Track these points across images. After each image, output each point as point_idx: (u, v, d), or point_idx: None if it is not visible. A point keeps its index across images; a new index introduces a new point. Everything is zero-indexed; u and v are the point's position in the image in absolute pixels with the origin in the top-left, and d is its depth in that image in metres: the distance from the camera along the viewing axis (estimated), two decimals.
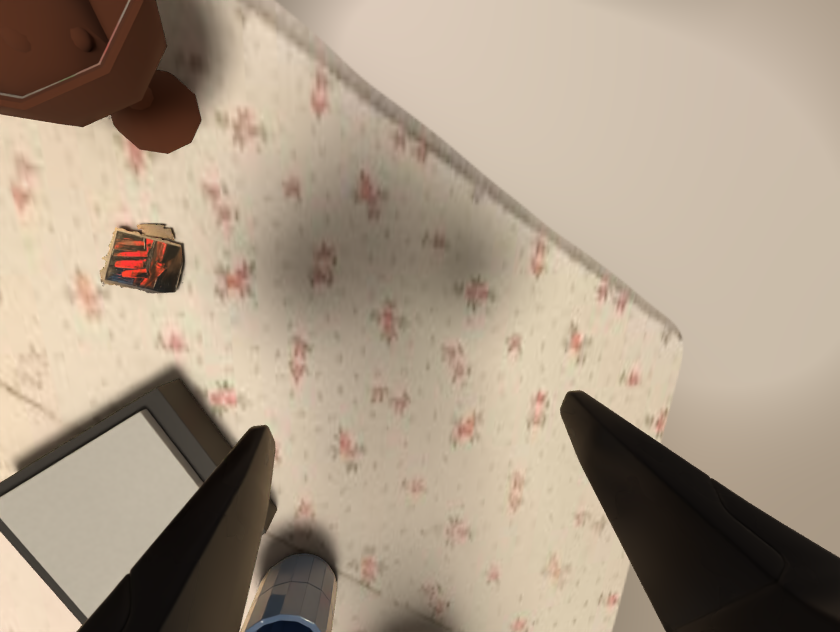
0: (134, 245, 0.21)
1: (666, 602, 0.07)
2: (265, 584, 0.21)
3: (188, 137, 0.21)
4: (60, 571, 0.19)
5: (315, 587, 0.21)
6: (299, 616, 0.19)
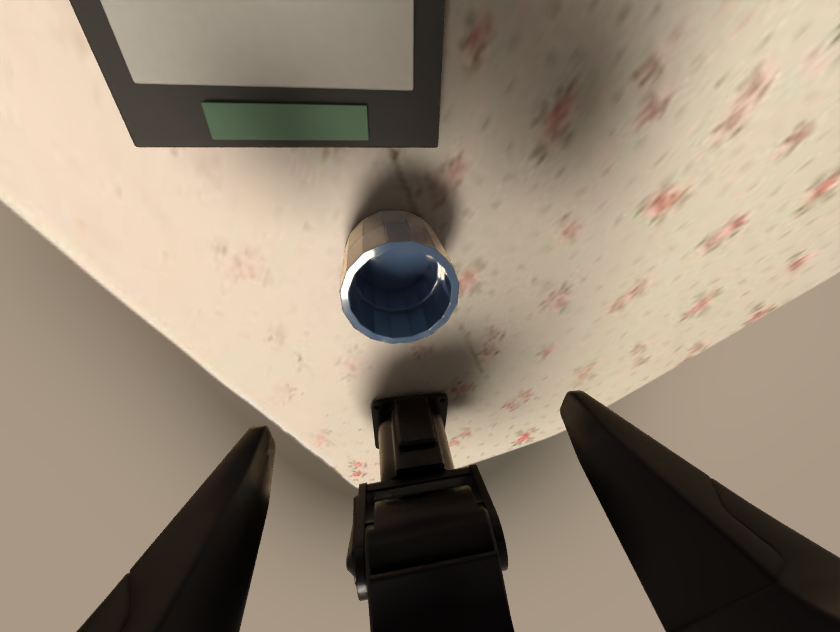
0: None
1: (666, 602, 0.07)
2: (387, 219, 0.15)
3: None
4: None
5: None
6: (452, 266, 0.14)
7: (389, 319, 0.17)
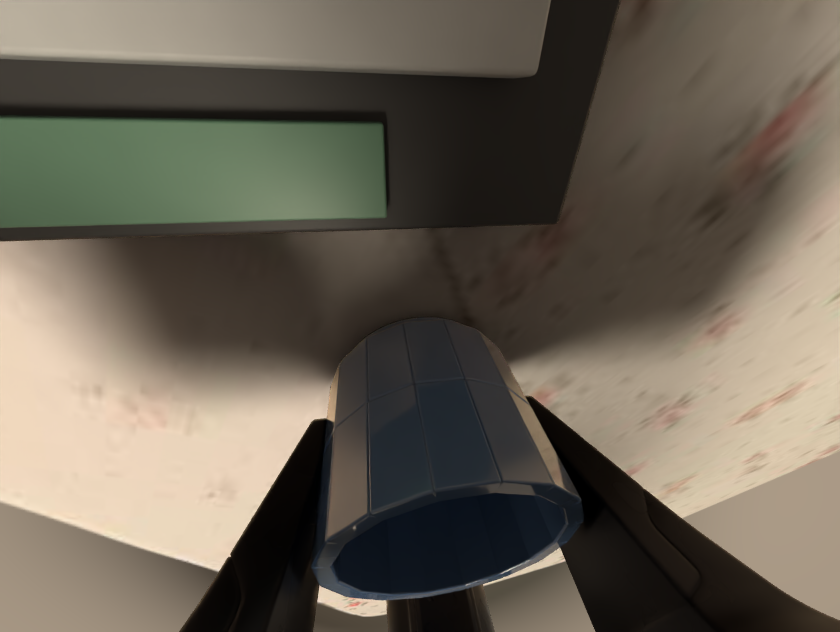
0: None
1: (601, 617, 0.07)
2: (418, 358, 0.07)
3: None
4: None
5: None
6: (581, 502, 0.06)
7: (416, 520, 0.09)
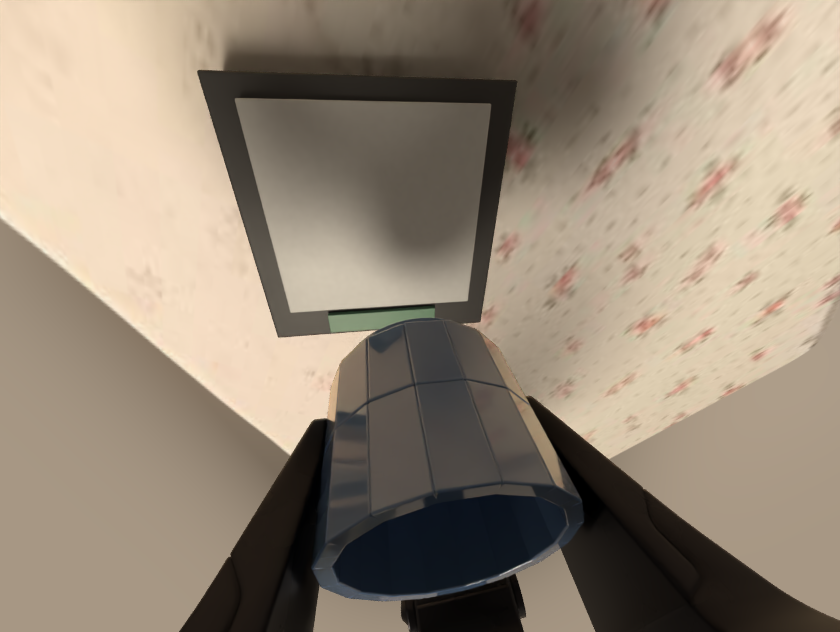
0: None
1: (601, 617, 0.07)
2: (418, 359, 0.07)
3: None
4: (286, 248, 0.14)
5: None
6: (581, 503, 0.06)
7: (416, 521, 0.09)
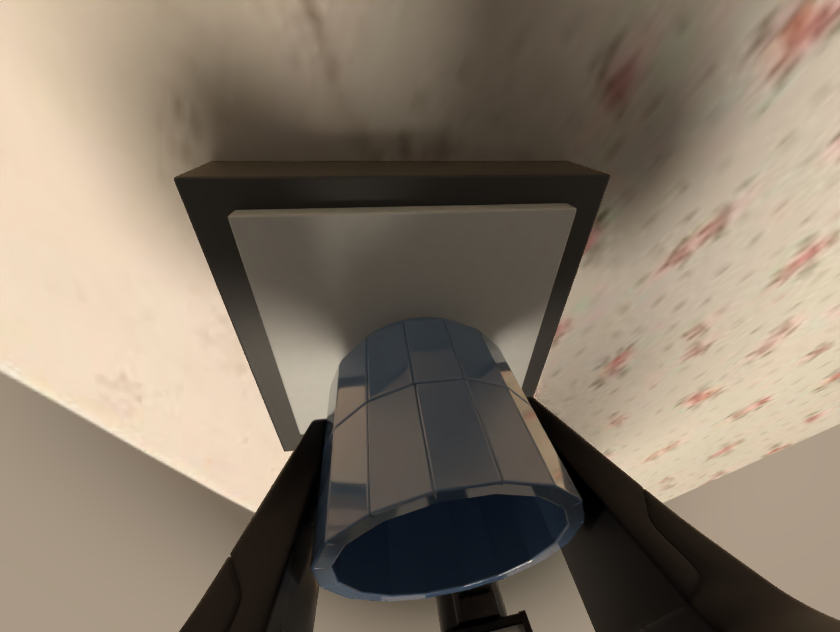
0: None
1: (601, 617, 0.07)
2: (418, 358, 0.07)
3: None
4: (297, 374, 0.11)
5: None
6: (582, 503, 0.06)
7: (416, 521, 0.09)
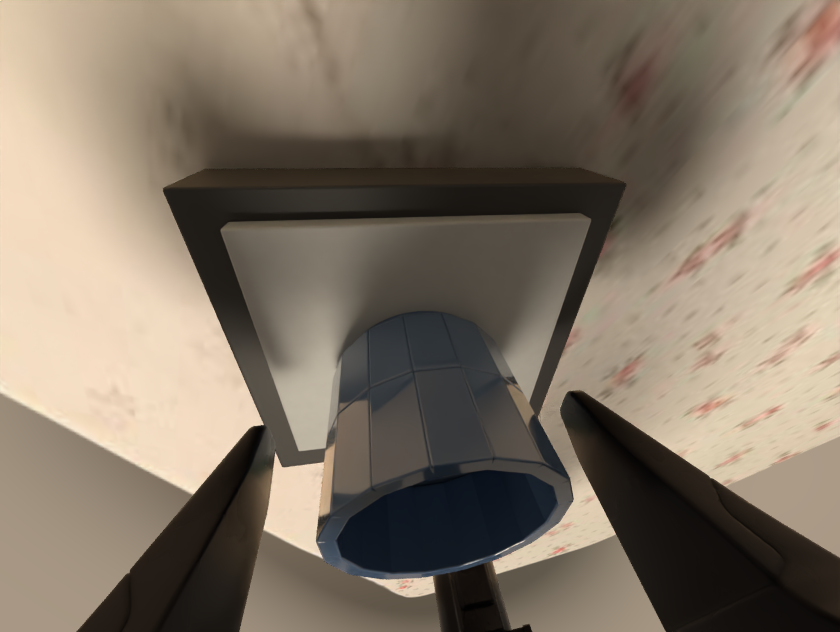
0: None
1: (666, 602, 0.07)
2: (417, 348, 0.08)
3: None
4: (295, 390, 0.11)
5: None
6: (570, 481, 0.06)
7: (415, 506, 0.09)
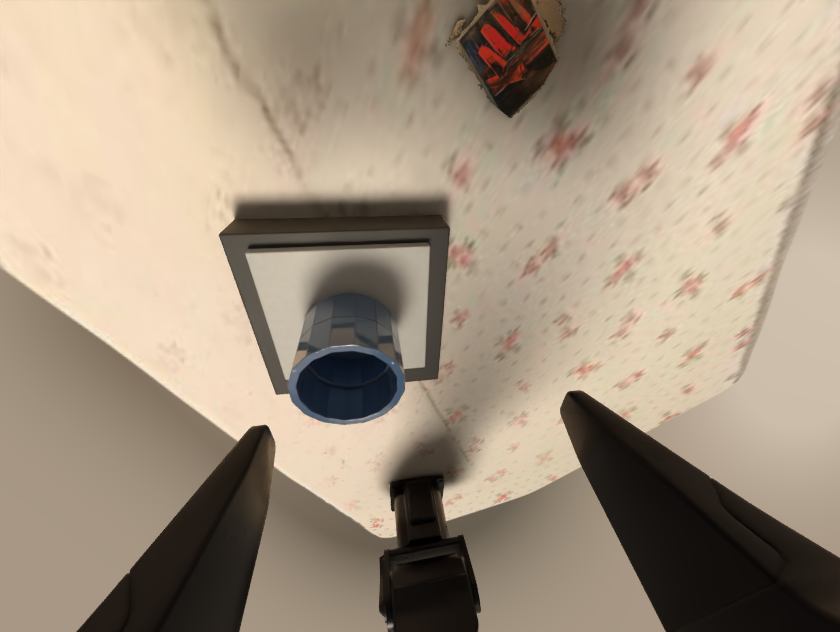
0: (519, 14, 0.14)
1: (666, 602, 0.07)
2: (337, 308, 0.16)
3: None
4: (282, 338, 0.19)
5: (396, 340, 0.17)
6: (395, 361, 0.15)
7: (344, 396, 0.18)
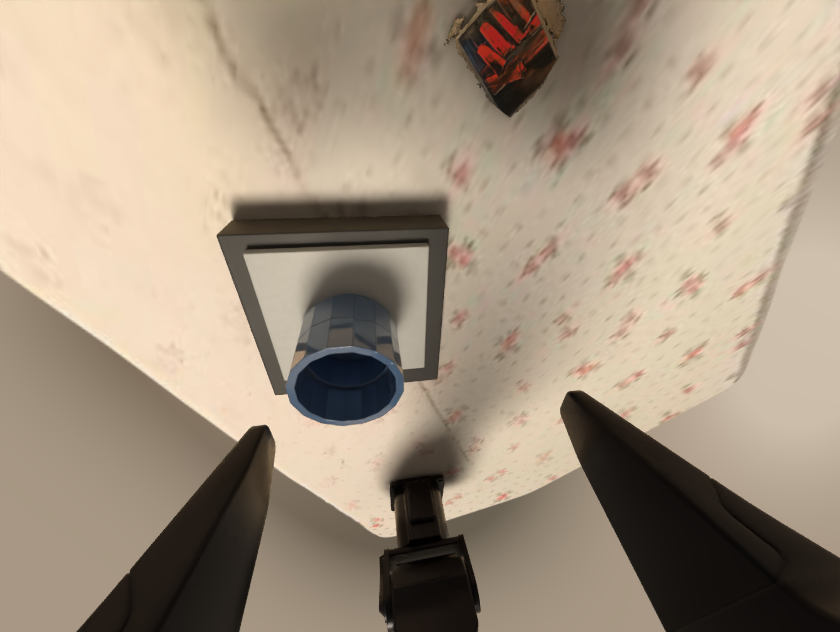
0: (518, 13, 0.14)
1: (666, 602, 0.07)
2: (336, 309, 0.16)
3: None
4: (281, 339, 0.19)
5: (395, 341, 0.17)
6: (394, 362, 0.15)
7: (343, 397, 0.18)
